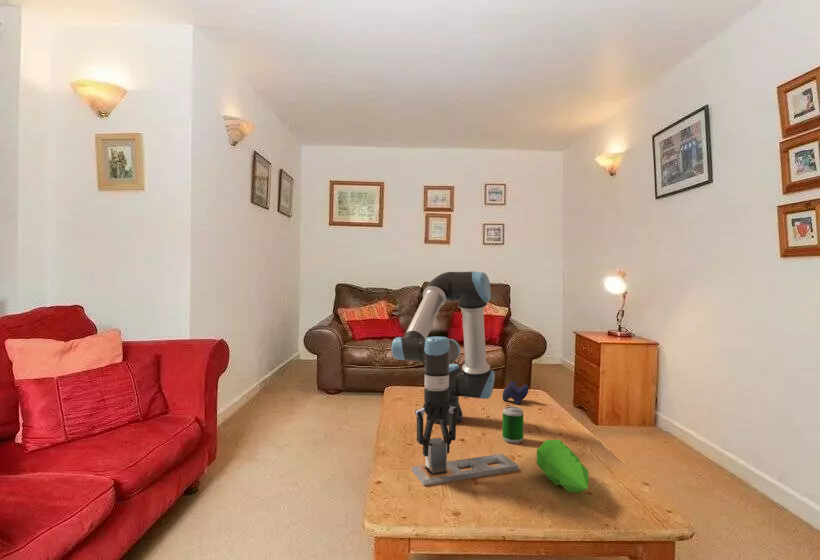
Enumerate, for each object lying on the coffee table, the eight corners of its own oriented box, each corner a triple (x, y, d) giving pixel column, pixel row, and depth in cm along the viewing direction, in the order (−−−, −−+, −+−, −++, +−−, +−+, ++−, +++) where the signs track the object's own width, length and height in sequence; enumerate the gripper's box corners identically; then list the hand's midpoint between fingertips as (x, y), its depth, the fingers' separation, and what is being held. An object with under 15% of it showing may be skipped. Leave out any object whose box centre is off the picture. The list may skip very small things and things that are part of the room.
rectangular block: (426, 472, 135) (426, 439, 135) (439, 470, 137) (440, 437, 137) (432, 478, 131) (432, 444, 131) (446, 476, 133) (446, 442, 133)
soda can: (523, 445, 160) (524, 412, 160) (502, 443, 162) (502, 410, 162) (522, 438, 167) (522, 406, 167) (502, 436, 169) (502, 405, 169)
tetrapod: (498, 397, 223) (501, 377, 221) (521, 396, 225) (523, 376, 222) (506, 409, 213) (508, 388, 210) (530, 408, 214) (532, 387, 211)
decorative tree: (554, 426, 144) (598, 459, 114) (568, 459, 143) (615, 501, 113) (522, 440, 143) (558, 477, 113) (536, 473, 143) (575, 519, 113)
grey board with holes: (411, 471, 137) (411, 466, 137) (501, 458, 148) (501, 453, 148) (423, 485, 127) (423, 479, 127) (518, 470, 138) (518, 464, 138)
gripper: (414, 393, 128) (413, 474, 128) (468, 388, 134) (467, 466, 134) (405, 387, 135) (404, 464, 135) (457, 383, 141) (456, 456, 141)
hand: (436, 464), depth 134 cm, fingers closed on rectangular block, 4 cm apart
